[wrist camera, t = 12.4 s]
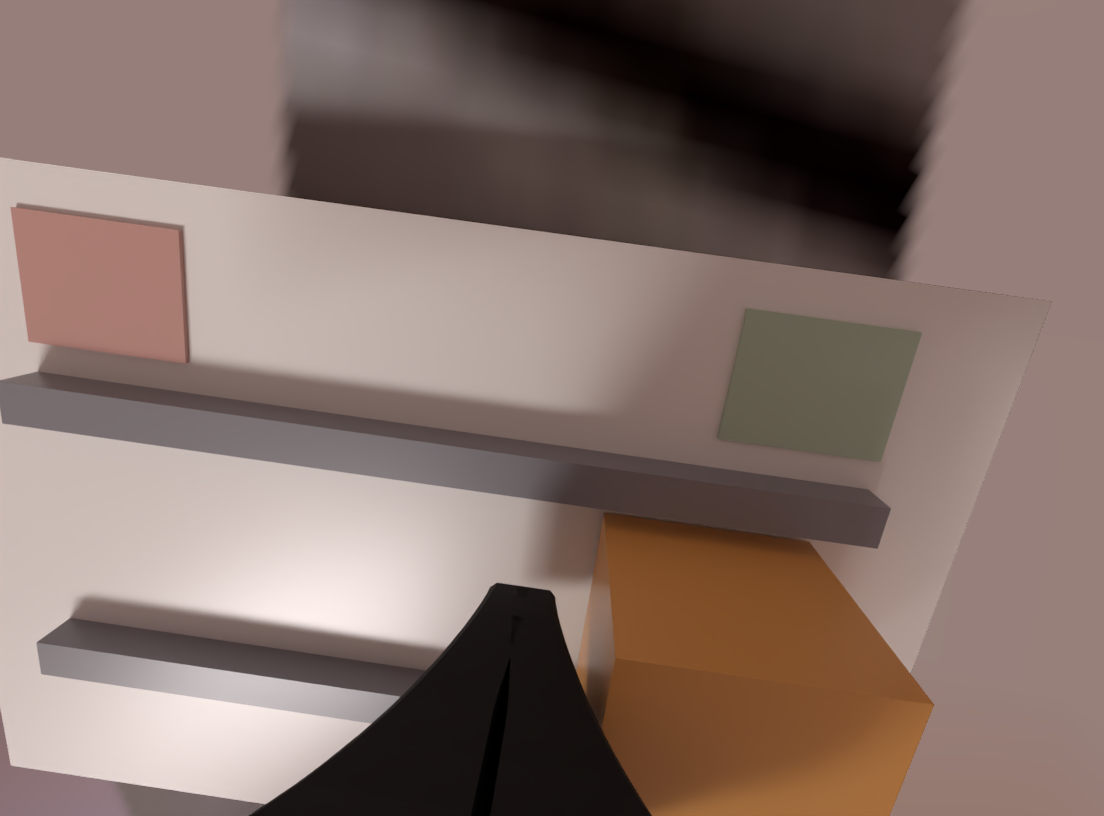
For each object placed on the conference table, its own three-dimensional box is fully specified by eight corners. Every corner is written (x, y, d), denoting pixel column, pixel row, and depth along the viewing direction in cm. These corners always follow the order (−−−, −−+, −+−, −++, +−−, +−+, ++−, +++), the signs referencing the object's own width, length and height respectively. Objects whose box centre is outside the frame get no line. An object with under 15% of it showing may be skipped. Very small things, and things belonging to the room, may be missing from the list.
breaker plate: (797, 809, 15) (843, 928, 13) (81, 701, 16) (-24, 796, 13) (973, 291, 11) (1093, 306, 9) (9, 159, 12) (-163, 134, 9)
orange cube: (760, 708, 12) (845, 926, 8) (574, 680, 12) (571, 883, 8) (809, 542, 11) (934, 704, 7) (603, 512, 11) (615, 657, 7)
